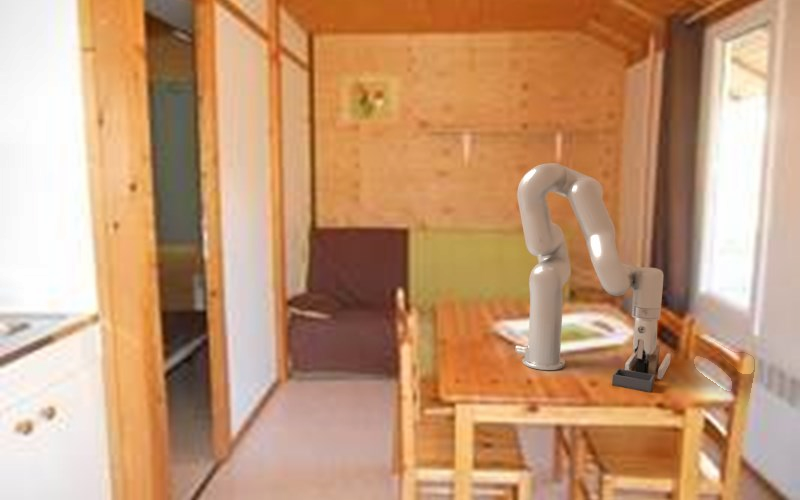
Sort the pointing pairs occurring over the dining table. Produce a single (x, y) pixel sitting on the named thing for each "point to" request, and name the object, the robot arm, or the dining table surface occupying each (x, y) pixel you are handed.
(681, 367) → the dining table surface
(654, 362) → the walnut block
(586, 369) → the dining table surface
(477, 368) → the dining table surface
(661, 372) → the channel
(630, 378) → the bin
